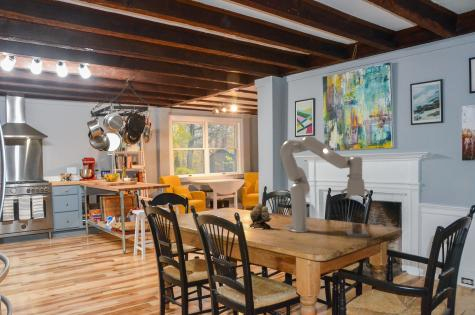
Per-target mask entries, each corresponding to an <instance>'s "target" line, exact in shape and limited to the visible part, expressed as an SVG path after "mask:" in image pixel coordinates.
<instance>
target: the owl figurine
mask: <svg viewBox="0 0 475 315" xmlns="http://www.w3.org/2000/svg"><path fill="white" fill-rule="evenodd" d="M249 214H250V215H249V217H250V219H251V221H252V223H250V224H249V225H248V227H249V226H250V227H254V228H268V229H271V228H272V227H271V224H268V223H269V222H271V220H272V217H271V216H270V215H271V214H270V212H269V208H268V206H263V204H262V203H256V205H255V206H254V207H253V209H252V210H251V211H250V213H249ZM267 222H268V223H267ZM250 227H249V228H250ZM254 228H253V229H254Z"/></svg>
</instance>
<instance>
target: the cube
mask: <svg viewBox="0 0 475 315" xmlns="http://www.w3.org/2000/svg"><path fill="white" fill-rule="evenodd" d="M362 227H363V225H362V223H361V222H359V223H357V222H355V223H354V222H352V223H351V231H352V232H353V233H362V231H363V228H362Z"/></svg>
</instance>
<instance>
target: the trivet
mask: <svg viewBox="0 0 475 315" xmlns="http://www.w3.org/2000/svg"><path fill="white" fill-rule="evenodd" d="M345 234H346V236H347V237H348V238H349V237H350V238H351V237H352V238H357V237H358V238H370V235H369V233H368V232H367V230H362V233H353V232H352V230H345Z"/></svg>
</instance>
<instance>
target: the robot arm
mask: <svg viewBox="0 0 475 315" xmlns="http://www.w3.org/2000/svg"><path fill="white" fill-rule="evenodd" d="M307 151H309V152H311V153H313V154H314V155H316V156H318V157H320V158H321V159H323V160H324V161H326V162H327V163H329V164H331V165H332V166H334V167H335V168H337V169H340V170H341V169H348V168H349V170H348V171H349V172H348V173H349V174H346V177H347V178H348V179H347V184H346V185H347V186H346V188H344V189H342V190H340V192H341V194H342V196H343V197H344V198H345V204H346V205H349V196H354V197H355V196H357V197H358V196H359V197H361V196H362V197H363V198H362V205H363V206H366V205H365V204H367V203H366V202H367V201H366V199H367V198H368V197H369V195H370V194H371V191H370V190H368V189H366V188H365V180H364V179H363V158H362V156H345V155H341V154H339V153H337V152H336V151H334V150H332V149H331V148H330V146H328V145H327V144H325V143H324V142H322V141H320V140H318V139H317V138H316V137H315V136H312V135H306V136H304V137H303V138H302V139H297V140H294V139H288V140H286V141H285V142H283V144H282V145H281V147H280V150H279V153H280V154H279V155H280V158H281V161H282V165H283V167H284V170H285V174H286V176H287V179H288V180H289V181H291V182H293V184H292V185H291V187H290V190H289V192H290V199H291V223H289V224H287V223H286V224H285V225H284V226H285V228H289V231H291V232H293V233H294V232H295V233H307V232H309V231H310V228H309V227H308V224H307V223H308V222H307V221H308V218H307V216H308V214H307V200H306V196H307V195H308V194H309V193H310V189H311V188H310V183H309V181H308V178H307V175H306V173H305V170H304V169H303V168H302V167H300V166H298V164H297V161H296V159H295V156H294V154H299V153H303V152H307ZM345 192H346V194H345ZM365 193H366V195H365Z"/></svg>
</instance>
